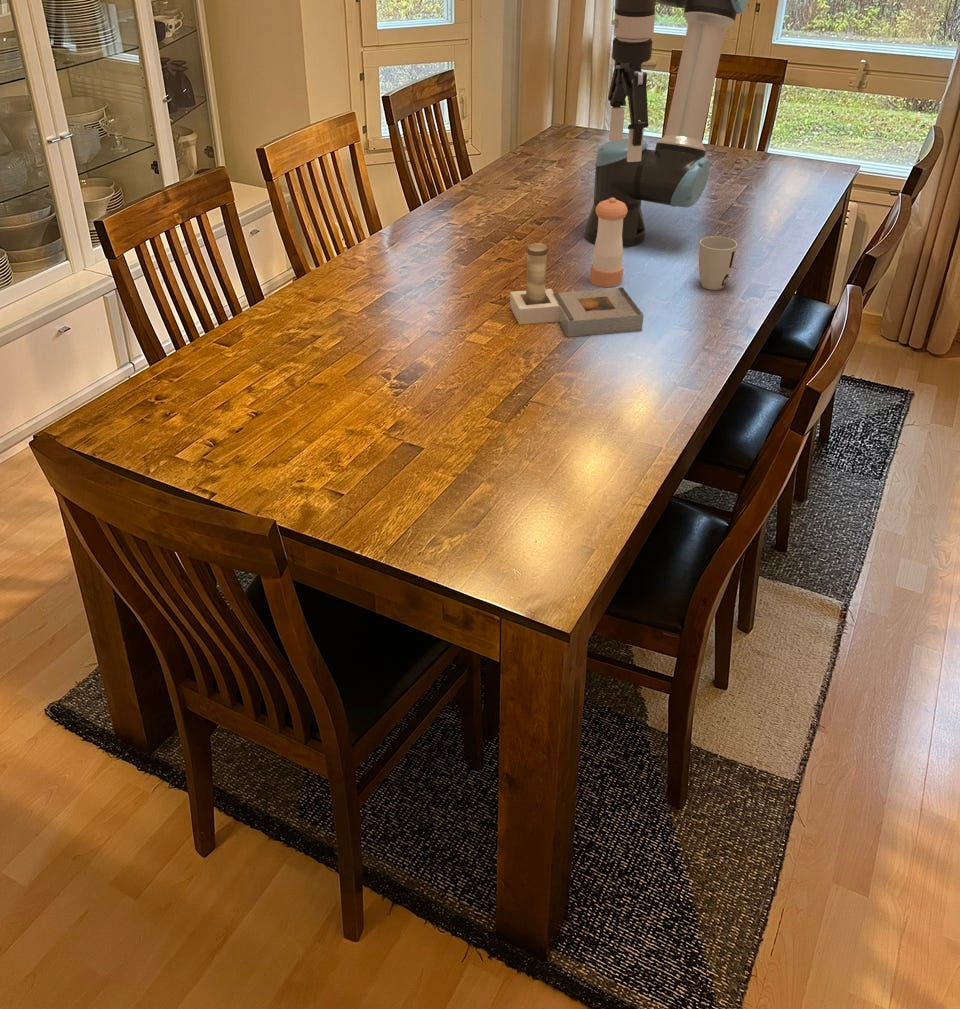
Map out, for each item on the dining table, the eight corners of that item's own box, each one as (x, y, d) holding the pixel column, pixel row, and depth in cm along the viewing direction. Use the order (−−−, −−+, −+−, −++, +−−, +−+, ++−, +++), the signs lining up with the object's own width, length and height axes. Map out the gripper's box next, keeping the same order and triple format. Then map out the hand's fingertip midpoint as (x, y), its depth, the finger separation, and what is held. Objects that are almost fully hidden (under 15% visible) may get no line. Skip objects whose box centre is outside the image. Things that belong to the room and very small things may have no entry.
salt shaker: (626, 277, 229) (633, 195, 218) (616, 289, 224) (623, 205, 213) (596, 272, 232) (602, 190, 221) (585, 284, 227) (591, 200, 215)
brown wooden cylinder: (523, 310, 215) (525, 243, 206) (541, 309, 216) (544, 242, 207) (527, 318, 212) (529, 251, 203) (546, 317, 213) (549, 249, 204)
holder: (510, 306, 217) (510, 291, 215) (550, 303, 218) (551, 288, 216) (519, 324, 210) (519, 309, 208) (560, 321, 211) (561, 305, 209)
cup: (730, 294, 222) (737, 251, 216) (693, 291, 223) (699, 248, 218) (730, 279, 228) (737, 237, 223) (694, 276, 230) (700, 234, 224)
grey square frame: (550, 308, 216) (551, 292, 214) (621, 302, 218) (623, 286, 216) (567, 337, 205) (568, 320, 203) (642, 330, 207) (643, 313, 205)
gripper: (597, 24, 199) (591, 133, 212) (632, 54, 180) (623, 171, 192) (633, 22, 200) (625, 130, 213) (672, 52, 180) (660, 169, 193)
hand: (624, 150), depth 203 cm, fingers open, 13 cm apart
